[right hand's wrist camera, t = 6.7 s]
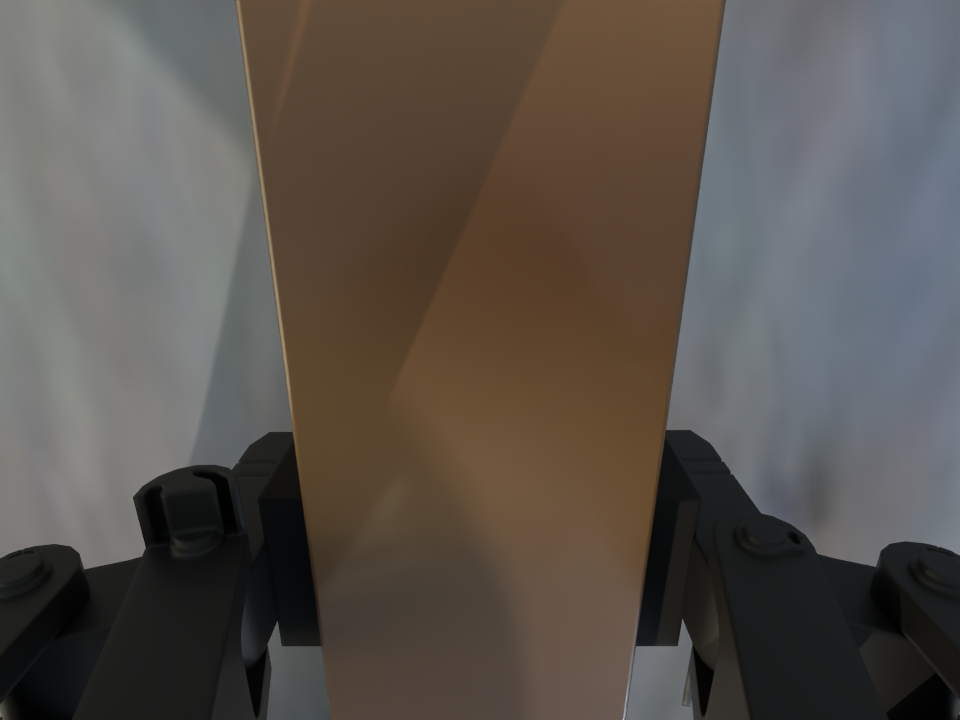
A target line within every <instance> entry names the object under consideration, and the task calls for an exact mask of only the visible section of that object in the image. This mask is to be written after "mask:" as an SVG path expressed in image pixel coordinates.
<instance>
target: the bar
mask: <svg viewBox="0 0 960 720" xmlns="http://www.w3.org/2000/svg"><path fill="white" fill-rule="evenodd" d="M235 2H236V9H237V17H238V24H239V32H240V39H241V47H242V54H243V61H244V69H245V76H246V84H247V91H248V99H249V106H250V114H251V121H252V129H253V136H254V144H255V151H256V159H257V166H258V174H259V181H260V189H261V196H262V204H263V211H264V219H265V226H266V234H267V241H268V249H269V256H270V264H271V271H272V279H273V286H274V294H275V301H276V309H277V316H278V324H279V331H280V339H281V346H282V354H283V361H284V369H285V376H286V384H287V391H288V399H289V406H290V414H291V421H292V429H293V436H294V444H295V451H296V459H297V466H298V474H299V481H300V489H301V496H302V504H303V511H304V519H305V526H306V534H307V541H308V549H309V556H310V564H311V571H312V578H313V586H314V593H315V601H316V608H317V616H318V623H319V631H320V638H321V646H322V653H323V661H324V668H325V676H326V683H327V691H328V698H329V706H330V713H331V720H626V713H627V706H628V699H629V691H630V684H631V677H632V670H633V663H634V656H635V648H636V641H637V634H638V627H639V620H640V612H641V605H642V598H643V591H644V584H645V577H646V569H647V562H648V555H649V548H650V541H651V533H652V526H653V519H654V512H655V505H656V498H657V490H658V483H659V476H660V469H661V462H662V454H663V447H664V440H665V433H666V426H667V419H668V411H669V404H670V397H671V390H672V383H673V375H674V368H675V361H676V354H677V347H678V340H679V332H680V325H681V318H682V311H683V304H684V296H685V289H686V282H687V275H688V268H689V261H690V253H691V246H692V239H693V232H694V225H695V217H696V210H697V203H698V196H699V189H700V182H701V174H702V167H703V160H704V153H705V146H706V139H707V131H708V124H709V117H710V110H711V103H712V95H713V88H714V81H715V74H716V67H717V60H718V52H719V45H720V38H721V31H722V24H723V16H724V9H725V2H726V0H235Z"/></svg>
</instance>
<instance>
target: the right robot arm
mask: <svg viewBox="0 0 960 720" xmlns="http://www.w3.org/2000/svg"><path fill="white" fill-rule="evenodd" d="M133 499H134V503H135V507H136V511H137V515H138V519H139V523H140V526H141V530H142V534H143V538H144V542H145V546H146V549H145V551H144V554H143V556H142V557H139V558H135V559H132V560H128V561H123V562H118V563H113V564H109V565H104V566H99V567H94V568H89V569H85V570H84V567H83V564H82V561H81V558H80V554H79V553H78V552H77V551H75V550H74V549H73V548H72V547H70V546H64V545H57V544H51V545H42V546H34V547H30V548H25V549H24V550H19V551H16V552H13V553H10V554H8V555H6V556H5V557H2V558H0V714H1V718H0V720H266V717H267V707H268V697H269V688H270V678H271V663H270V656H269V651H268V642H269V640H270V637H271V635H272V632H273V630H274V627H275V625H276V623H277V620H278V625H279V631H280V637H281V643H282V646H321V638H320V631H319V623H318V616H317V608H316V601H315V593H314V586H313V578H312V571H311V564H310V556H309V549H308V541H307V534H306V526H305V519H304V511H303V504H302V496H301V489H300V481H299V474H298V466H297V459H296V451H295V444H294V436H293V432H269V433H268V434H266V435H265V436H263V437H262V438H260V439H259V440H257V441H256V442H254V443H253V444H251V445H250V446H249V447H248V449H247V450H246V451H245V453H244V454H243V456H242V457H241V458H240V460H239V464H236V465H235V467H234V468H233V469H232V470H230V469H229V468H226V467H221V466H217V465H195V466H191V467H186V468H181V469H176V470H174V471H171V472H169V473H166V474H163V475H161V476H158V477H157V478H155V479H153V480H152V481H150V482H149V483H147V484H146V485H144V486H142V488H141V489H140V490H139V491H138V492H137V493H136V494H135V496H134V497H133ZM682 618H683V620H684V623H685V625H686V628H687V630H688V633H689V635H690V637H691V640H692V642H693V645H692V651H691V656H690V662H689V667H688V673H687V679H686V684H685V690H684V696H683V702H682V705H683V706H688V707H690V703H691V698H692V705H693V715H694V720H960V715H959V713H960V555H957V554H955V553H954V552H952V551H950V550H947V549H944V548H941V547H940V548H939V547H937V546H934V545H929V544H924V543H915V542H906V541H905V542H899V543H893V544H889V545H888V546H887V547H885V548H884V549H883V550H882V551H881V553H880V556H879V559H878V563H877V566H876V567H873V566H868V565H863V564H859V563H854V562H849V561H844V560H839V559H835V558H830V557H827V556H823V555H819V554H817V553H816V550H815V548H814V546H813V545H812V544H811V542H810V541H809V539H808V538H807V537H806V535H805V534H803V533H802V532H800V531H799V530H798V529H796V528H795V527H794V526H792V525H791V524H789V523H787V522H784V521H782V520H780V519H778V518H775V517H773V516H769V515H765V514H761V513H760V511H759V510H758V509H757V507H756V506H755V505H754V503H753V502H752V500H751V499H750V498H749V496H748V495H747V494H746V492H745V491H744V489H743V488H742V487H741V485H740V484H739V483H738V481H737V480H736V478H735V477H734V476H733V475H731V474H730V470H729V469H728V467H727V466H726V465H725V463H724V462H721V458H720V456H719V455H718V454H717V452H716V451H715V449H714V448H713V447H712V445H711V444H710V443H709V442H707V441H706V440H704V439H703V438H701V437H700V436H698V435H697V434H695V433H694V432H692V431H691V430H666V433H665V440H664V447H663V454H662V462H661V469H660V476H659V483H658V490H657V498H656V505H655V512H654V519H653V526H652V533H651V541H650V548H649V555H648V562H647V569H646V577H645V584H644V591H643V598H642V605H641V612H640V620H639V627H638V634H637V641H636V646H678V641H679V635H680V629H681V623H682Z"/></svg>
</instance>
